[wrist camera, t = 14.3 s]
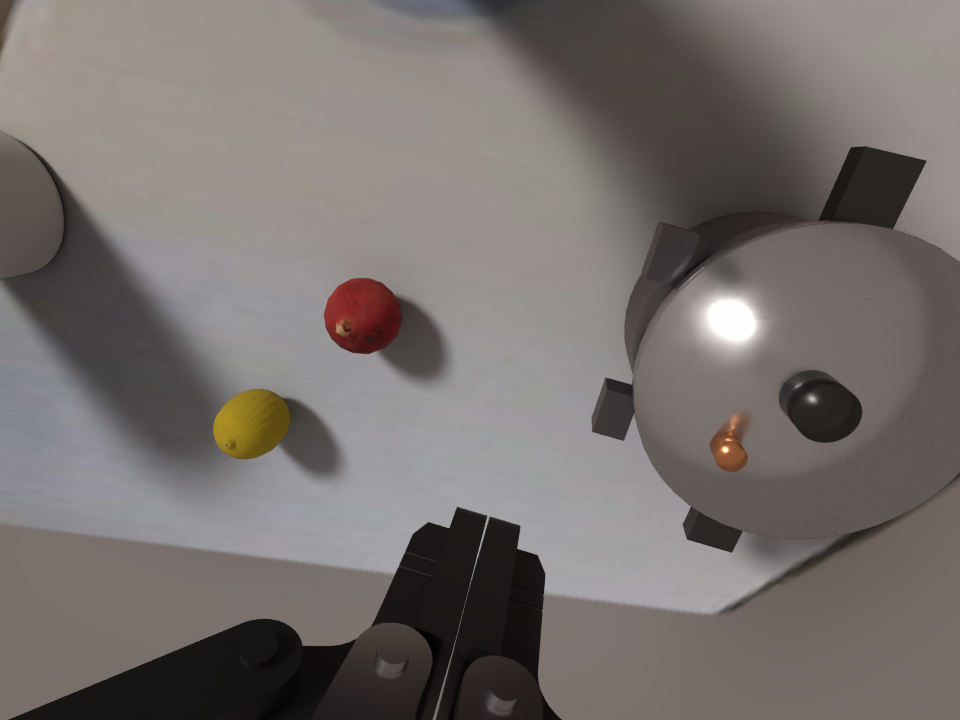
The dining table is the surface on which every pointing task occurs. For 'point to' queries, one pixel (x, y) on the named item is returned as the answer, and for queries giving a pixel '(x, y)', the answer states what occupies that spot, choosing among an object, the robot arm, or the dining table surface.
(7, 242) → the cylinder vase
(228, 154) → the dining table surface
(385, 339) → the pomegranate
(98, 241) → the dining table surface
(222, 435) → the lemon
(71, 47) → the dining table surface
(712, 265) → the cooker lid
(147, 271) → the dining table surface
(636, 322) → the cooker pot
